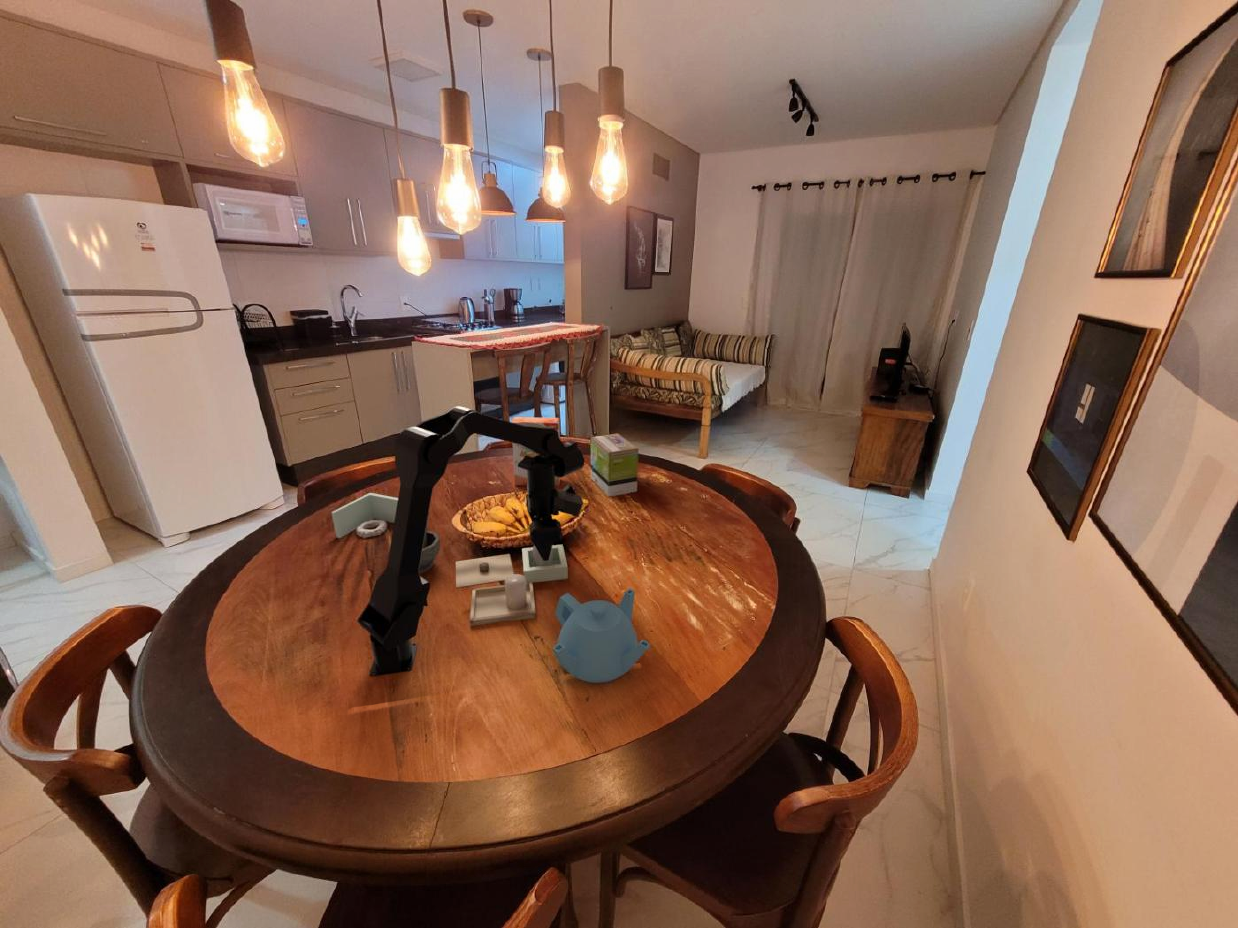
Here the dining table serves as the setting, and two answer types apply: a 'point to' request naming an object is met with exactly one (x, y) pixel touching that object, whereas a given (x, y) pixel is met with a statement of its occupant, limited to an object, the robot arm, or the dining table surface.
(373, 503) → the right angle wall
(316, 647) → the dining table surface
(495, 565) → the tray lid
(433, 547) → the mortar and pestle
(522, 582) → the pale pebble
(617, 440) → the tea box
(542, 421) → the cracker box
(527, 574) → the sage bin
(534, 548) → the grey rounded piece
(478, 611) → the birch tray
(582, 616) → the teapot
